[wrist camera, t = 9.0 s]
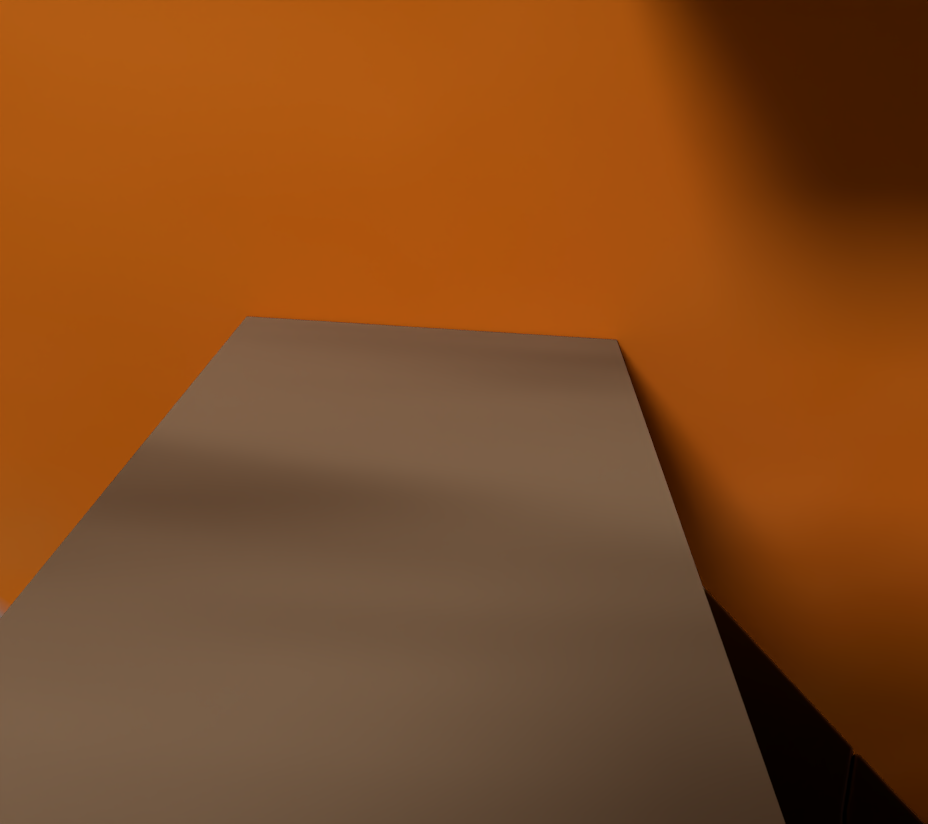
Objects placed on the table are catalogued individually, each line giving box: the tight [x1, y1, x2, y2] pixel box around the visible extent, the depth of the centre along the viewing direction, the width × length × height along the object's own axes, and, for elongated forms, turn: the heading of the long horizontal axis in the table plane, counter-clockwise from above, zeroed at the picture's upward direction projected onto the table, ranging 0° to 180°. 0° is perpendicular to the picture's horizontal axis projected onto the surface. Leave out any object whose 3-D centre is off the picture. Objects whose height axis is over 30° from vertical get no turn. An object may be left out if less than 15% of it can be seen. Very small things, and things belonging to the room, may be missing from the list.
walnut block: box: [0, 317, 785, 824], centre depth 6 cm, size 4×4×6 cm
